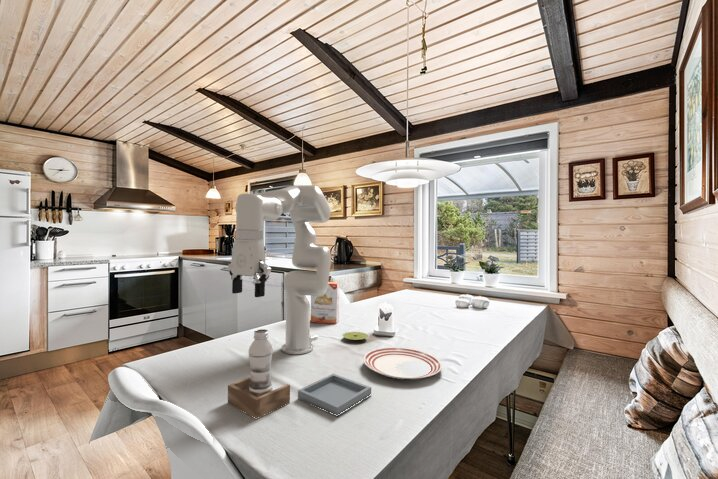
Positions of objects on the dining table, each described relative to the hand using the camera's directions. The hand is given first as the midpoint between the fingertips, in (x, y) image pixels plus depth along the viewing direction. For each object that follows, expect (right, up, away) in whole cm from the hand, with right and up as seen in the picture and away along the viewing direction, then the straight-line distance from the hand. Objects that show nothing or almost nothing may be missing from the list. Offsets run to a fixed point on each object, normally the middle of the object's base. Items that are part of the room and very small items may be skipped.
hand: (248, 294), depth 101 cm
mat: (+31, -28, +51) cm, 66 cm away
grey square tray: (+26, -30, -1) cm, 39 cm away
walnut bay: (+5, -29, -5) cm, 30 cm away
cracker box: (+15, -27, +79) cm, 85 cm away
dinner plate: (+48, -30, +21) cm, 60 cm away
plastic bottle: (+5, -29, -5) cm, 30 cm away
